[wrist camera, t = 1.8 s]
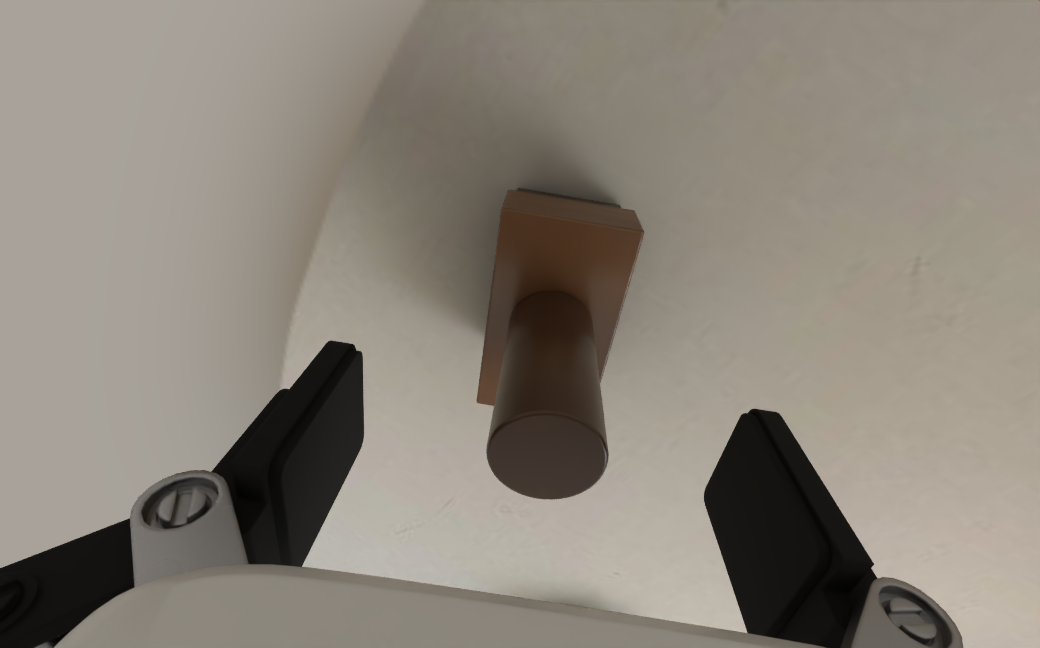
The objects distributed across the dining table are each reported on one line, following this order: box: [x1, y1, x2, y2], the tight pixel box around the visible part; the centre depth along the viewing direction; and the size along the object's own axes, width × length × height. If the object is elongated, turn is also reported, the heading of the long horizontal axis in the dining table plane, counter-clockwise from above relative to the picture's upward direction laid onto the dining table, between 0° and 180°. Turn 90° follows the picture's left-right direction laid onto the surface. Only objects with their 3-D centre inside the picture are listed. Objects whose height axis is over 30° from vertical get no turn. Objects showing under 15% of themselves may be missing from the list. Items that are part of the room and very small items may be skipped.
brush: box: [477, 188, 644, 499], centre depth 14 cm, size 7×4×9 cm, turn 172°
